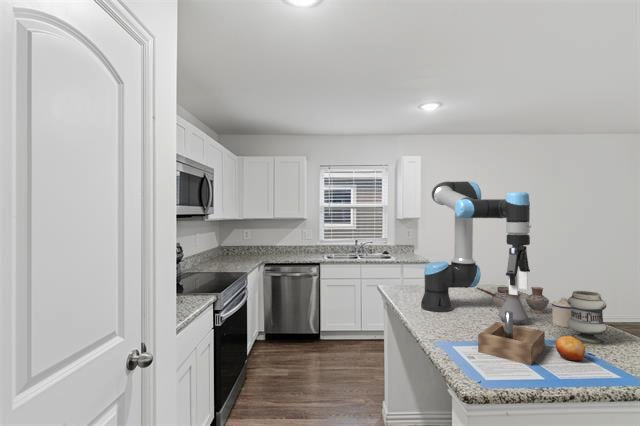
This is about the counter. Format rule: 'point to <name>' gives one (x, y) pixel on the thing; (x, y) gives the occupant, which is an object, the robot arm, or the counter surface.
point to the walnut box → (512, 343)
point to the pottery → (534, 300)
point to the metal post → (509, 324)
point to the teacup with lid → (561, 312)
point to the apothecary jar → (587, 316)
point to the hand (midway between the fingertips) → (518, 291)
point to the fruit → (570, 348)
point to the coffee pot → (511, 307)
